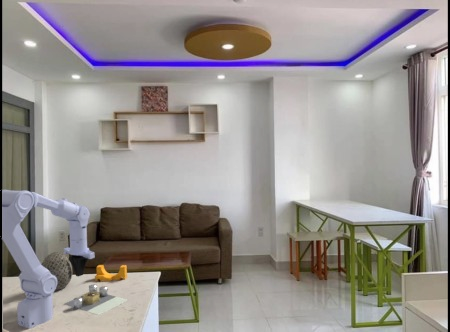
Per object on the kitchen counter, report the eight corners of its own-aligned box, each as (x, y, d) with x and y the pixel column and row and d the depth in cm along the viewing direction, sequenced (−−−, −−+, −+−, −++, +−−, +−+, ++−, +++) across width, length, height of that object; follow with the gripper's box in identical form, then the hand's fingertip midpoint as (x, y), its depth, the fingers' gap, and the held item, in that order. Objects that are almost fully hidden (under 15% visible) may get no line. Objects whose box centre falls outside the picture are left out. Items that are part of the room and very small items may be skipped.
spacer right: (103, 297, 125) (102, 289, 125) (97, 296, 126) (97, 288, 126) (109, 294, 128) (108, 287, 127) (103, 293, 129) (103, 285, 129)
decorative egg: (64, 296, 130) (62, 257, 129) (33, 296, 130) (32, 257, 129) (78, 284, 141) (76, 248, 141) (49, 284, 142) (48, 248, 141)
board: (99, 318, 112) (99, 315, 112) (63, 306, 120) (63, 304, 120) (128, 302, 123) (128, 299, 123) (93, 293, 132) (93, 290, 132)
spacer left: (77, 310, 116) (77, 301, 115) (71, 308, 117) (71, 299, 117) (84, 306, 118) (84, 298, 118) (78, 305, 119) (78, 296, 119)
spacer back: (92, 295, 127) (92, 287, 127) (87, 294, 128) (87, 286, 128) (98, 292, 130) (98, 285, 129) (93, 291, 131) (93, 283, 131)
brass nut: (89, 305, 118) (89, 298, 118) (79, 303, 121) (79, 295, 121) (102, 299, 124) (102, 292, 123) (93, 296, 126) (92, 290, 126)
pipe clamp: (95, 283, 142) (94, 268, 142) (99, 279, 146) (99, 265, 146) (123, 284, 141) (123, 268, 141) (127, 280, 146) (126, 265, 145)
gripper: (101, 238, 124) (102, 275, 125) (74, 234, 131) (75, 269, 132) (84, 242, 118) (85, 281, 119) (58, 238, 125) (59, 274, 126)
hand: (79, 275), depth 125 cm, fingers closed
